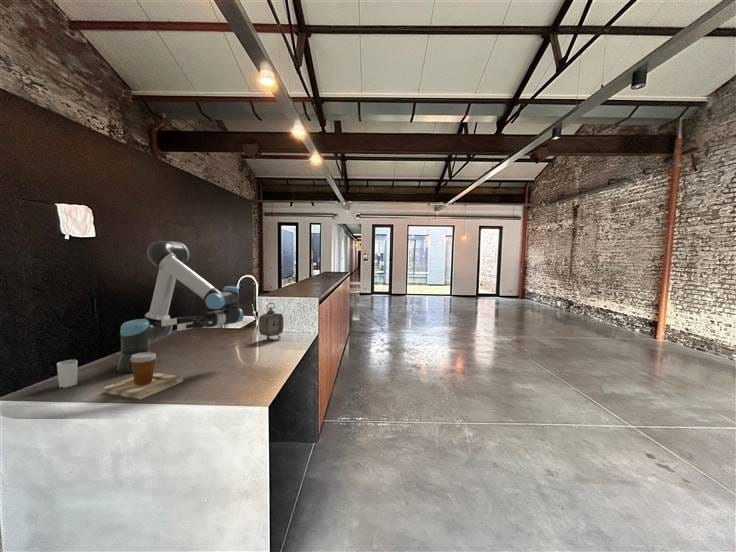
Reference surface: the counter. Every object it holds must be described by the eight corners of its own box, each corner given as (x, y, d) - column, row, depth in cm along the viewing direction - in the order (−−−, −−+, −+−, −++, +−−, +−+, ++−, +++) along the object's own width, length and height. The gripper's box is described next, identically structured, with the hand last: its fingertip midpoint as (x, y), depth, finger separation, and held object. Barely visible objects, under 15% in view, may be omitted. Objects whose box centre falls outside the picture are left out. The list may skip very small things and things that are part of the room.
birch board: (103, 392, 138) (103, 387, 138) (149, 376, 157) (148, 371, 157) (140, 399, 132) (140, 393, 131) (183, 381, 151) (182, 376, 150)
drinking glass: (67, 382, 149) (66, 359, 149) (82, 382, 149) (81, 359, 148) (53, 387, 142) (52, 364, 142) (68, 388, 142) (67, 364, 142)
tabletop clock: (266, 343, 220) (266, 304, 218) (257, 341, 224) (257, 303, 223) (283, 338, 232) (283, 302, 230) (274, 336, 237) (274, 301, 235)
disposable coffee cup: (140, 387, 140) (141, 358, 139) (124, 384, 143) (124, 356, 142) (161, 380, 149) (161, 353, 148) (145, 377, 152) (145, 350, 151)
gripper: (229, 329, 163) (184, 338, 145) (199, 323, 176) (155, 329, 158) (229, 314, 162) (184, 320, 144) (199, 308, 176) (155, 313, 158)
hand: (169, 325), depth 151 cm, fingers open, 13 cm apart
